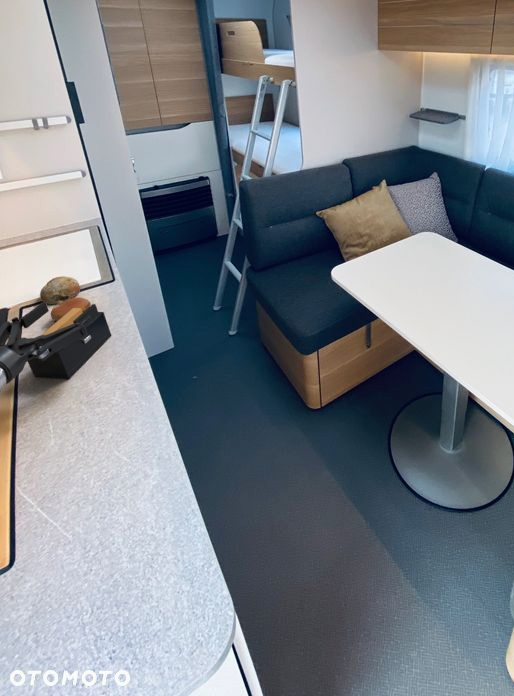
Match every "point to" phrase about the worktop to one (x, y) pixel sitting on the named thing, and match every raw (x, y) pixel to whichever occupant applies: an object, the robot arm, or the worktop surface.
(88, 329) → the toaster
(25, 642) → the worktop surface
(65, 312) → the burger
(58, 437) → the worktop surface
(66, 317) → the toast
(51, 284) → the rock
